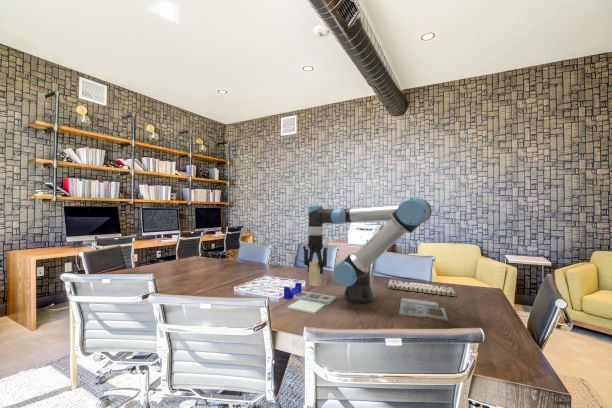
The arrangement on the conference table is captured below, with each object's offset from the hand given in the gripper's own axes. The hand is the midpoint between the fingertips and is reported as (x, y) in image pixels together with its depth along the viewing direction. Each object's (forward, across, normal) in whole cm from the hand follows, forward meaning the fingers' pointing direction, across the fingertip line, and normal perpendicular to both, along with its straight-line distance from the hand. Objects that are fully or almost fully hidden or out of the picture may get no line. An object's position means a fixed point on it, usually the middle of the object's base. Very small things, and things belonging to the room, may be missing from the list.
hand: (315, 279), depth 147 cm
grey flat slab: (+12, -50, -12) cm, 53 cm away
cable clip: (+10, +13, +1) cm, 17 cm away
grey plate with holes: (+10, 0, 0) cm, 10 cm away
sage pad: (+10, -2, +13) cm, 17 cm away
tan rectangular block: (+3, 0, 0) cm, 3 cm away
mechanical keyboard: (+12, -46, -46) cm, 67 cm away
